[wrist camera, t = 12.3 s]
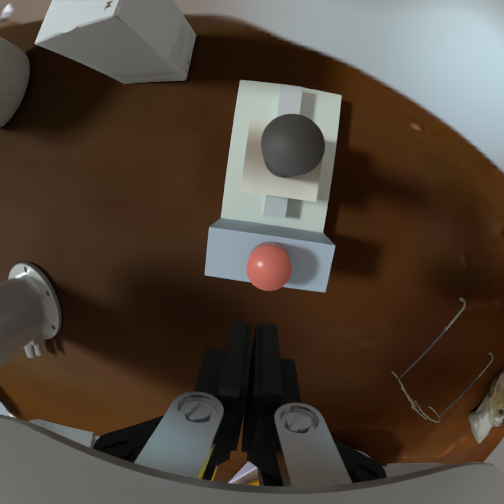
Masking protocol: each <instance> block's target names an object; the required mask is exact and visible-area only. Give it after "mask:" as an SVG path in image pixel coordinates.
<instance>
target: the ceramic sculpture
mask: <svg viewBox="0 0 504 504" xmlns="http://www.w3.org/2000/svg"><path fill="white" fill-rule="evenodd" d="M468 417H469V421H470V423H471V430H472V432H473V435H474V436H475V438H476V440H477V442H478V443H481V442H482V440H483V439H484V438H485V437H486V436H487V434H488V432H489V431H490V429H491V428H492V427H493V426H500V425H501V424H503V423H504V369H503V370H502V371H501V372H500V373H498V375H497V376H496V377H495V378H494V379H493V380H492V383H491V385H490V388H489V391H488V393H487V394H486V396H485V397H484V399H483V401H482V403H481V404H480V406H479V407H478V409H477V410H476V411H473V412H471V413H470V414H469V416H468Z"/></svg>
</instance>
